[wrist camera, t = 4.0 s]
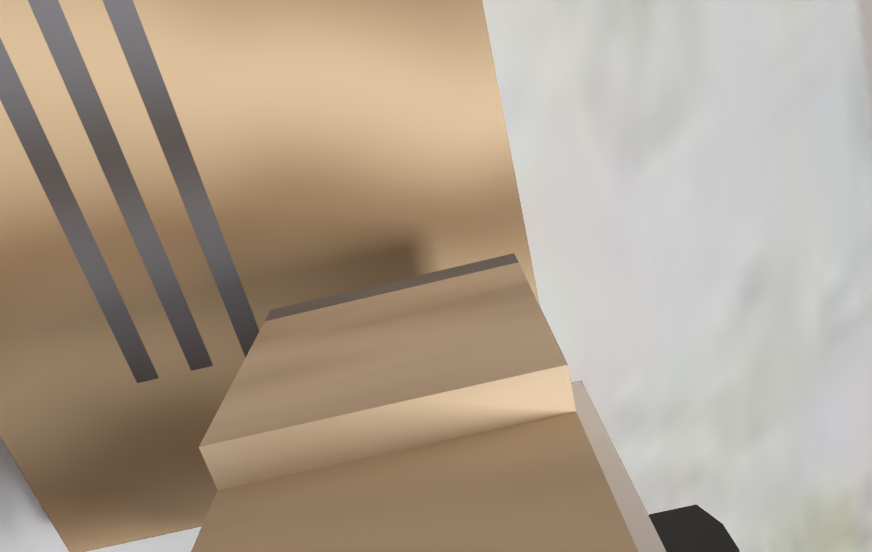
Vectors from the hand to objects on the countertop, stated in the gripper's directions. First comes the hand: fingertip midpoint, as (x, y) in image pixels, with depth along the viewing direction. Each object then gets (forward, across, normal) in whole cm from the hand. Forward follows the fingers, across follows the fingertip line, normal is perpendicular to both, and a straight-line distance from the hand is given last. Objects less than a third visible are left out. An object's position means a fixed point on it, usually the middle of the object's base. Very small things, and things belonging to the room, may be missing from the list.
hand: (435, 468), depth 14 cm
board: (+5, +4, -5) cm, 8 cm away
